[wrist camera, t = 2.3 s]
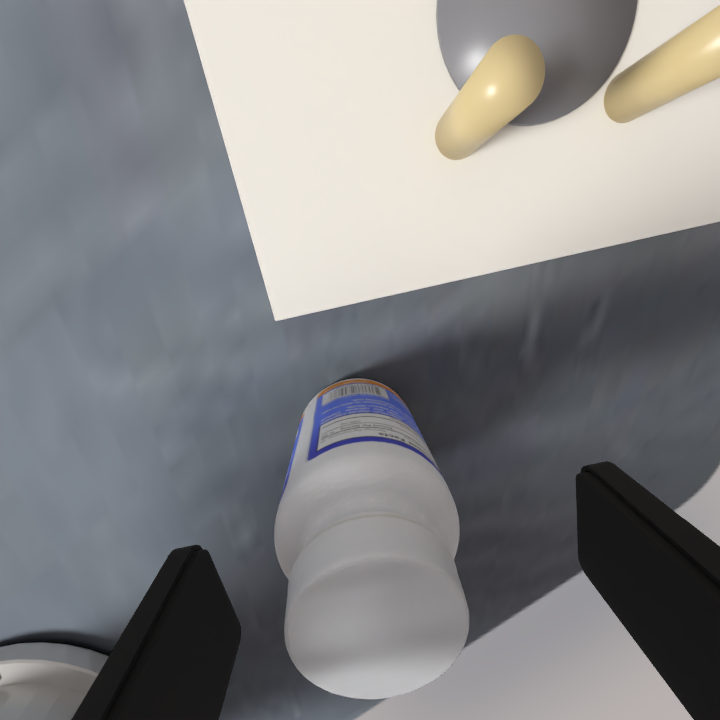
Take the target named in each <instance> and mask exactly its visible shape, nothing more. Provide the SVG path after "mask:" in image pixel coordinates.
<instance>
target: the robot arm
mask: <svg viewBox="0 0 720 720" xmlns="http://www.w3.org/2000/svg"><path fill="white" fill-rule="evenodd" d="M576 500H577V530H578V557H579V562H580V565H581V567H582V569H583V571H584V573H585V574H586V576H587V577H588V578H589V580H590V581H591V582H592V584H593V585H594V586H595V588H596V589H597V590H598V592H599V593H600V594H601V596H602V597H603V599H604V600H605V601H606V602H607V604H608V605H609V606H610V608H611V609H612V611H613V612H614V613H615V615H616V616H617V617H618V619H619V620H620V621H621V622H622V624H623V625H624V627H625V628H626V629H627V631H628V632H629V633H630V635H631V636H632V637H633V639H634V640H635V641H636V643H637V644H638V645H639V647H640V648H641V649H642V651H643V652H644V654H645V655H646V656H647V657H648V659H649V660H650V662H651V663H652V664H653V666H654V667H655V668H656V670H657V671H658V672H659V674H660V675H661V676H662V678H663V679H664V680H665V681H666V683H667V684H668V686H669V687H670V688H671V690H672V691H673V692H674V694H675V695H676V696H677V698H678V699H679V700H680V702H681V703H682V704H683V705H684V707H685V708H686V710H687V711H688V712H689V714H690V715H691V717H692V718H693V719H694V720H720V546H718V545H717V544H716V543H714V542H713V541H712V540H711V539H709V538H708V537H707V536H705V535H704V534H703V533H702V532H700V531H699V530H698V529H697V528H695V527H694V526H693V525H691V524H690V523H689V522H687V521H686V520H685V519H683V518H682V517H681V516H679V515H678V514H677V513H675V512H674V511H673V510H672V509H670V508H669V507H668V506H667V505H665V504H664V503H663V502H661V501H660V500H659V499H658V498H656V497H655V496H654V495H653V494H651V493H650V492H649V491H647V490H646V489H645V488H644V487H642V486H641V485H640V484H639V483H637V482H636V481H635V480H633V479H632V478H631V477H630V476H628V475H627V474H626V473H625V472H623V471H622V470H621V469H619V468H618V467H617V466H616V465H614V464H613V463H611V462H607V461H606V462H601V463H596V464H592V465H587V466H583V467H582V469H581V473H580V474H577V475H576ZM240 639H241V627H240V623H239V620H238V618H237V616H236V614H235V611H234V609H233V607H232V604H231V602H230V600H229V598H228V595H227V593H226V591H225V588H224V586H223V584H222V582H221V579H220V577H219V575H218V572H217V570H216V568H215V565H214V563H213V561H212V559H211V556H210V554H209V552H208V551H207V550H203V549H202V548H201V546H199V545H193V546H188V547H183V548H178V549H174V550H173V551H172V552H171V553H170V554H169V556H168V558H167V559H166V561H165V563H164V564H163V566H162V568H161V569H160V571H159V573H158V574H157V576H156V578H155V579H154V581H153V583H152V584H151V586H150V588H149V590H148V591H147V593H146V595H145V596H144V598H143V600H142V601H141V603H140V605H139V606H138V608H137V610H136V611H135V613H134V615H133V617H132V618H131V620H130V622H129V623H128V625H127V627H126V628H125V630H124V632H123V633H122V635H121V637H120V638H119V640H118V642H117V644H116V645H115V647H114V649H113V650H112V652H111V654H110V655H109V656H107V655H104V654H101V653H98V652H96V651H93V650H90V649H86V648H82V647H77V646H73V645H68V644H59V643H47V642H36V643H19V644H13V645H8V646H3V647H0V720H218V719H219V716H220V712H221V708H222V705H223V701H224V698H225V694H226V690H227V687H228V683H229V679H230V676H231V672H232V669H233V665H234V661H235V658H236V654H237V651H238V647H239V643H240Z"/></svg>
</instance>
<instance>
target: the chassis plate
mask: <svg viewBox="0 0 720 720" xmlns="http://www.w3.org/2000/svg"><path fill="white" fill-rule="evenodd" d="M184 2H185V6H186V9H187V13H188V16H189V20H190V23H191V27H192V30H193V34H194V37H195V41H196V44H197V48H198V51H199V55H200V58H201V62H202V65H203V69H204V72H205V76H206V79H207V83H208V86H209V90H210V93H211V97H212V100H213V104H214V107H215V111H216V114H217V118H218V121H219V125H220V128H221V132H222V135H223V139H224V142H225V146H226V149H227V153H228V156H229V160H230V163H231V167H232V170H233V174H234V177H235V181H236V184H237V188H238V191H239V195H240V199H241V202H242V206H243V209H244V213H245V216H246V220H247V223H248V227H249V230H250V234H251V237H252V241H253V244H254V248H255V251H256V255H257V258H258V262H259V265H260V269H261V272H262V276H263V279H264V283H265V286H266V290H267V293H268V297H269V300H270V304H271V307H272V311H273V314H274V318H275V321H278V320H283V319H287V318H292V317H296V316H301V315H305V314H309V313H314V312H318V311H323V310H327V309H332V308H336V307H341V306H345V305H350V304H354V303H359V302H363V301H367V300H372V299H376V298H381V297H385V296H390V295H394V294H399V293H403V292H408V291H412V290H416V289H421V288H425V287H430V286H434V285H439V284H443V283H448V282H452V281H457V280H461V279H466V278H470V277H474V276H479V275H483V274H488V273H492V272H497V271H501V270H506V269H510V268H515V267H519V266H524V265H528V264H532V263H537V262H541V261H546V260H550V259H555V258H559V257H564V256H568V255H573V254H577V253H582V252H586V251H590V250H595V249H599V248H604V247H608V246H613V245H617V244H622V243H626V242H631V241H635V240H640V239H644V238H648V237H653V236H657V235H662V234H666V233H671V232H675V231H680V230H684V229H689V228H693V227H697V226H702V225H706V224H711V223H715V222H720V0H184Z"/></svg>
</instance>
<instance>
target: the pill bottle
mask: <svg viewBox="0 0 720 720" xmlns="http://www.w3.org/2000/svg"><path fill="white" fill-rule="evenodd" d="M459 534H460V530H459V517H458V512H457V508H456V505H455V502H454V500H453V497H452V495H451V493H450V491H449V488H448V486H447V484H446V482H445V480H444V478H443V476H442V474H441V472H440V470H439V468H438V466H437V464H436V462H435V460H434V458H433V456H432V454H431V452H430V450H429V448H428V447H427V444H426V442H425V440H424V438H423V436H422V434H421V432H420V430H419V429H418V427H417V425H416V423H415V421H414V419H413V417H412V415H411V413H410V411H409V409H408V407H407V405H406V404H405V403H404V401H403V400H402V399H401V398H400V396H399V395H398V394H397V393H396V392H394V391H393V390H392V389H391V388H389V387H387V386H386V385H384V384H382V383H379V382H377V381H373V380H370V379H362V378H354V379H347V380H342V381H339V382H336V383H334V384H332V385H330V386H328V387H326V388H325V389H323V390H322V391H321V392H319V393H318V394H317V395H316V396H315V397H314V398H313V399H312V400H311V401H310V403H309V404H308V406H307V407H306V409H305V411H304V413H303V415H302V418H301V420H300V423H299V427H298V431H297V435H296V439H295V444H294V448H293V452H292V456H291V459H290V464H289V467H288V471H287V475H286V479H285V483H284V487H283V491H282V495H281V498H280V503H279V507H278V511H277V516H276V520H275V528H274V543H275V550H276V555H277V558H278V561H279V564H280V566H281V569H282V571H283V572H284V574H285V575H286V577H287V578H288V580H289V582H288V594H287V604H286V613H285V622H284V638H285V644H286V648H287V651H288V653H289V656H290V658H291V660H292V662H293V663H294V665H295V666H296V668H297V669H298V670H299V671H300V673H301V674H302V675H303V676H304V677H305V678H306V679H308V680H309V681H311V682H312V683H313V684H315V685H316V686H318V687H320V688H322V689H324V690H326V691H329V692H331V693H334V694H338V695H341V696H345V697H350V698H359V699H382V698H389V697H394V696H399V695H402V694H406V693H409V692H412V691H414V690H416V689H419V688H420V687H423V686H425V685H427V684H428V683H430V682H432V681H433V680H435V679H437V678H438V677H439V676H441V675H442V674H443V673H444V672H445V671H446V670H447V669H448V668H449V667H451V666H452V665H453V663H454V662H455V660H456V659H457V657H458V656H459V654H460V653H461V651H462V649H463V647H464V645H465V642H466V640H467V636H468V631H469V610H468V605H467V601H466V598H465V594H464V591H463V588H462V585H461V582H460V579H459V576H458V573H457V568H456V565H455V562H454V558H455V555H456V552H457V548H458V543H459Z"/></svg>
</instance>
